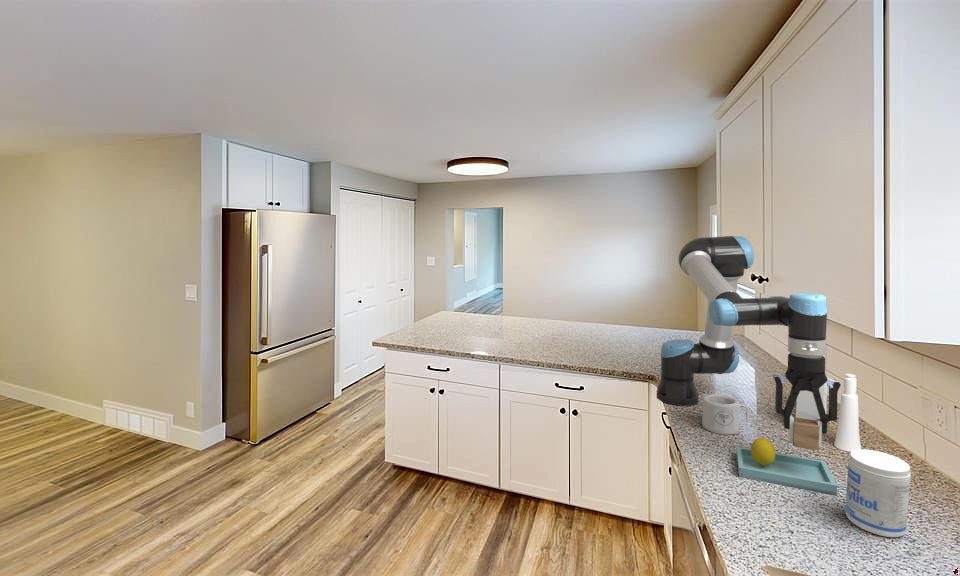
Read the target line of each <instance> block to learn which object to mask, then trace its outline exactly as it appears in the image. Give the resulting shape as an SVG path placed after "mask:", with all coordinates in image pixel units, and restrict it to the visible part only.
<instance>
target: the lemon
mask: <svg viewBox="0 0 960 576" xmlns="http://www.w3.org/2000/svg"><path fill="white" fill-rule="evenodd" d="M750 449H751V454H752V457H753V459H754V460H755V461H756V462H757V463H759V464H760V465H761V466H765V465H770V464H771V463H773V462H774V460H775V457H776V453H777V452H776V449H775V446H774V444H773V443H772V442H771V441H770V440H769V439H768V438H765V437H763V436H762V437H758V438H756V439H754V440H753V442H752V443H751V447H750Z"/></svg>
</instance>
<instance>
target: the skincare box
mask: <svg viewBox="0 0 960 576" xmlns="http://www.w3.org/2000/svg"><path fill="white" fill-rule="evenodd" d="M819 392H820V396H821V399H822V403H823V402H824V385H823V386H821V387H820V388H819ZM795 405H796V406H795V417H796V418H803V419H811V420H816V418H819V419H820V416H819V413H818V410H817V406H816V403H815V400H814V396H813V393H812V392H809V391H800V393H799V394H798V397H797V399H796V402H795Z"/></svg>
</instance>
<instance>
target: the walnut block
mask: <svg viewBox="0 0 960 576" xmlns="http://www.w3.org/2000/svg"><path fill="white" fill-rule="evenodd" d="M793 418H794V427H793V443H792V446H793V447H795V448H800V449H801V448H802V449H808V450H814V451H819V450H820V447H819V426H818V424H817V423H816V420H811V419H803V418H796V416H793Z"/></svg>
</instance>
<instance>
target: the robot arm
mask: <svg viewBox="0 0 960 576" xmlns="http://www.w3.org/2000/svg"><path fill="white" fill-rule="evenodd" d="M754 257H755V255H754V249H753V246H752V244H751V242H750V240H748V238H747V237H745V236H739V235H738V236H737V235H735V236H734V235H728V236H726V235H725V236H711V237H710V236H709V237H704V236H703V237H697V238H694V239H692V240H690V241H688V242H687V243H685V244H684V246H682V248H681V249H680V251H679V254H678V265H679V268H680V269H681V270H682V272H683V273H684V274H685V275H687V276H689V277H691V279H692V280H693V281H694V284H696V286H697V287H698V289H699V290H700V292H702V294H703V295H704V297H706V299H707V301H708V302H707V310H706V318H705V319H706V320H705V327H704V334H703V335H701V336H700V337H699V341H698V342H699V343H695V342H694V341H693V340H691V339H687V338H686V339H683V338H682V339H681V338H679V339H677V338H676V339H673V340H672V339H670V340H668V341H665V342H663V343H662V345H661V347H660V348H661V351H660V357H661V358H660V367H661V369H660V376H661V377H660V381H659V383H658V387H657V390H656V399H657V400H659V401H660V402H662V403H666V404H668V405H674V406H681V405H682V406H683V407H684V406H685V405H686V406H687V405H688V406H694V405H696V404H698V403H699V399H700V398H699V393H698V390H697V388H696V385H695V382H694V381H695V379H694V375H695V374H697V375H698V374H700V375H701V374H706V375H709V374H711V375H712V374H713V375H714V374H716V375H723V374H731V373H733V372H735V370H736V369H737V367H738V365H739V363H740V362H739V361H740V355H739V353H740V352H739V349H738V346H737V345H736V344H735V342H734V340H733V339H732V338H731V334H732V327H734V326H735V327H737V326H784V327H788V335H787V337H788V338H787V342H788V343H787V351H788V352H789V353H788V354H787V370H786V372H785V373H784V374H780V375H778V374H773V379H774V382H775V397H774V398H775V402H774V403H775V405H774V410H775V412H776V414H778V415H781V416H783V423H782V424H783V427H784V429H786V430H788V431H787V440H788V442H789V443H790V444H793V427H794V418H793V417H794V416H793V415H792V413H793V410H794V407H795V405H796V400H797V397H798V394H799V393H800V391H809V392H812V393H813V396H814V400H815V403H816V406H817V410H818V413H819V416H820V419H819V418H816V423H817V424H818V426H819V448H822V439H823V438H822V437H823V436H822V435H827V433H828V423H829V422H830V421H831V422H832V421H833V422H836V421H837V420H838V392H839V390H840V388H841V383H840V382H839V381H838V380H837V379H832V378H829V377H828V378H827V376H828V375H826V357H825V355H826V348H827V347H826V346H827V345H826V344H827V343H826V342H827V341H826V339H827V324H828V323H827V320H828V308H827V297H826V296H825V295H824V294H820V293H808V292H807V293H806V292H804V293H803V292H800V293H799V292H798V293H792V294H790V295H789V297H785V296H780V295H779V296H777V295H776V296H775V295H772V296H768V297H760V298H759V297H756V298H755V297H753V298H751V297H749V298H748V297H747V298H746V297H745V298H743V297H742V296H741V295H740V294H739V293H738V291H737V289H738V282H739V279H741V278H742V277H744V275H745V270H748V269H750V268H751V267H752V265H753V264H754V262H755V261H754V259H755V258H754ZM786 380H787V381H788V382H789V383H790V384H791V388H790V391H789V395H788V398H787V401H786V403H785V406H784V409H783V393H784V392H783V390H784V387H783V384H785V382H786ZM825 383H827V388H828V413H827V412H826V413H825V409H824V406H823V403H822V399H821V396H820V392H819V388H820V387H821V386H823V385H824V384H825ZM688 406H687V407H688Z"/></svg>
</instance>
